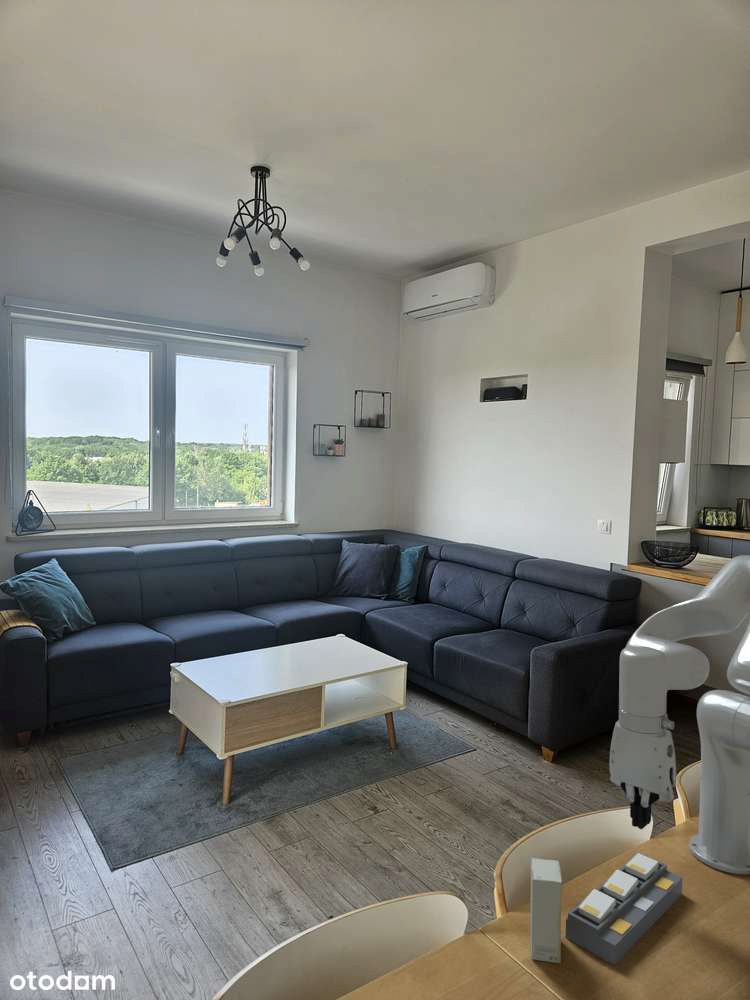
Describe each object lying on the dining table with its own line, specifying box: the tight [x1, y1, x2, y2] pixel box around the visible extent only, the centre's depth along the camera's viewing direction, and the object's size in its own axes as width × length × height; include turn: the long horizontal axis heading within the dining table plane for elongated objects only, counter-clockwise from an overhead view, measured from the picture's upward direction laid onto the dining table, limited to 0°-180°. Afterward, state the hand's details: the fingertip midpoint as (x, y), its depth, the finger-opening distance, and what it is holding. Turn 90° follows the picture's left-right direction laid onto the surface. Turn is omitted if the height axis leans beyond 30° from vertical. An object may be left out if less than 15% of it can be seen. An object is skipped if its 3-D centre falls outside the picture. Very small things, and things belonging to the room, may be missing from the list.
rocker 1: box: [579, 888, 616, 924], centre depth 102 cm, size 5×4×1 cm
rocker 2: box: [603, 869, 638, 901], centre depth 108 cm, size 5×4×1 cm
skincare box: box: [529, 857, 563, 964], centre depth 99 cm, size 6×4×12 cm
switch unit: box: [565, 852, 683, 966], centre depth 107 cm, size 25×8×4 cm, turn 133°
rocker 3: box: [624, 852, 659, 880], centre depth 113 cm, size 5×4×1 cm
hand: (640, 824), depth 112 cm, fingers closed
